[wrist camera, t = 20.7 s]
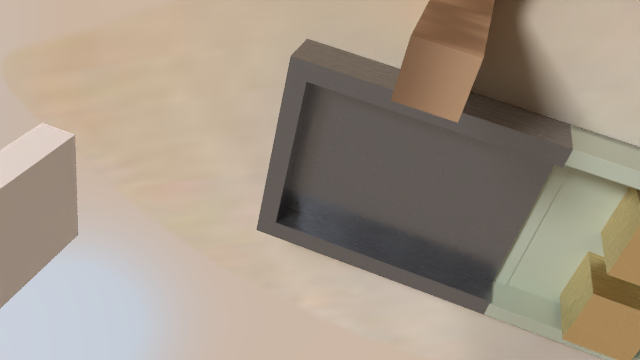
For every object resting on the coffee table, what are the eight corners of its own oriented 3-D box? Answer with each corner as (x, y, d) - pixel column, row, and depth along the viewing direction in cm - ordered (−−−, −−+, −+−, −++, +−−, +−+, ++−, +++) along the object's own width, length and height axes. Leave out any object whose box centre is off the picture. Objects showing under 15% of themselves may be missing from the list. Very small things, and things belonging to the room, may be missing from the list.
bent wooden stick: (523, -90, 30) (517, -29, 19) (463, 68, 34) (432, 187, 24) (472, -104, 30) (438, -52, 19) (420, 55, 35) (370, 165, 24)
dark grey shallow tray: (570, 124, 34) (573, 149, 32) (486, 284, 42) (483, 314, 39) (307, 38, 36) (290, 56, 34) (272, 205, 44) (256, 229, 41)
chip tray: (788, 195, 33) (808, 227, 30) (661, 348, 40) (669, 383, 38) (570, 124, 34) (572, 149, 32) (486, 284, 42) (483, 314, 39)
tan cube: (652, 274, 37) (664, 319, 34) (620, 317, 39) (627, 363, 36) (588, 251, 38) (593, 293, 34) (559, 295, 40) (562, 339, 37)
